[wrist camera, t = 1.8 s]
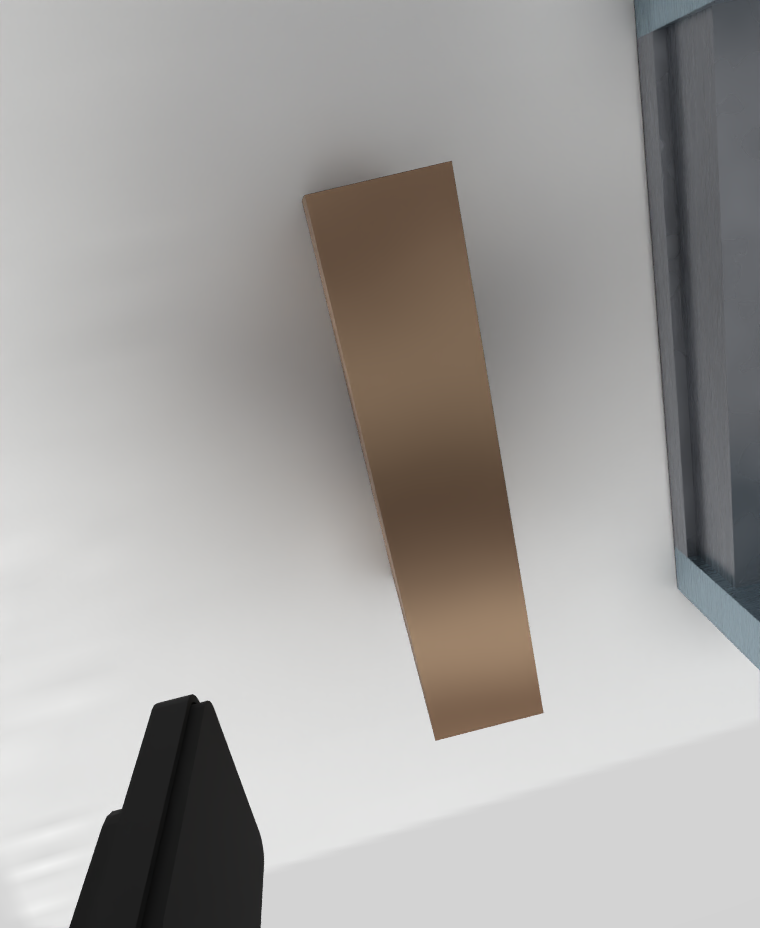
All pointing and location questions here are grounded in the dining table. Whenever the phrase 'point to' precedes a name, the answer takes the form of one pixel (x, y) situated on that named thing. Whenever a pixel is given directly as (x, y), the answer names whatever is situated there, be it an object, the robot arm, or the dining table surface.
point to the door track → (708, 291)
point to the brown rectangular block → (429, 438)
